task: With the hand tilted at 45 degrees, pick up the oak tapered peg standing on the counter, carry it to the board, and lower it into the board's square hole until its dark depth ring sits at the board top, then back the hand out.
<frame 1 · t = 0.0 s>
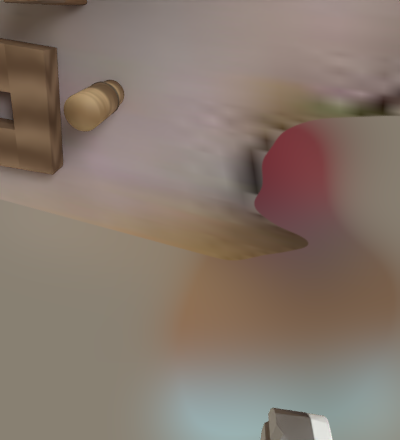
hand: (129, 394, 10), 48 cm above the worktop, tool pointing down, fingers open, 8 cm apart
peg: (111, 93, 53), on the worktop
board: (9, 102, 55), on the worktop
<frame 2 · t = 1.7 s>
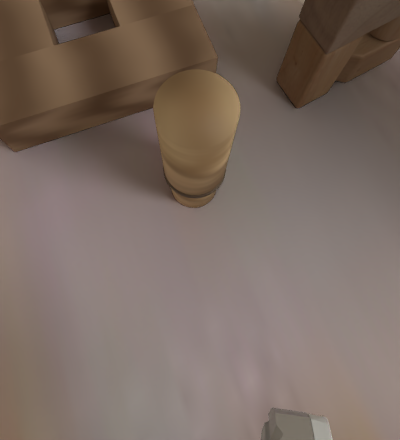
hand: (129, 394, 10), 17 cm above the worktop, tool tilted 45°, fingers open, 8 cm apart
peg: (193, 185, 30), on the worktop
wooden braced stand: (332, 71, 33), on the worktop
board: (90, 44, 33), on the worktop
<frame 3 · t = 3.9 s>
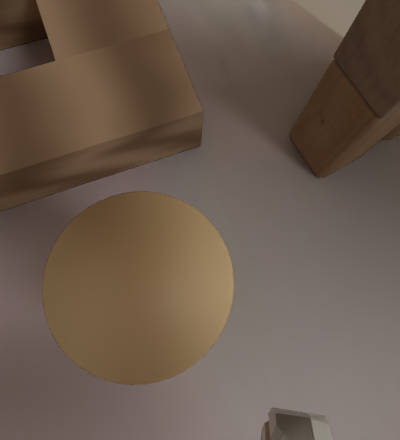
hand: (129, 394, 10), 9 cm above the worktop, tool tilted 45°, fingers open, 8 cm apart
peg: (166, 297, 20), on the worktop
wooden braced stand: (368, 122, 23), on the worktop
board: (24, 80, 23), on the worktop
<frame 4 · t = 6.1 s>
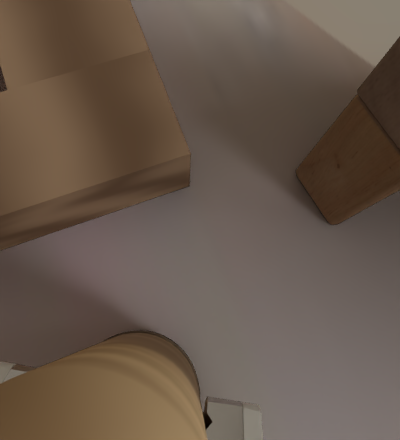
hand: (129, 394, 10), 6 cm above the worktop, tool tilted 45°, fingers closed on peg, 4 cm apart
peg: (147, 377, 16), on the worktop, touching gripper
wooden braced stand: (387, 156, 20), on the worktop
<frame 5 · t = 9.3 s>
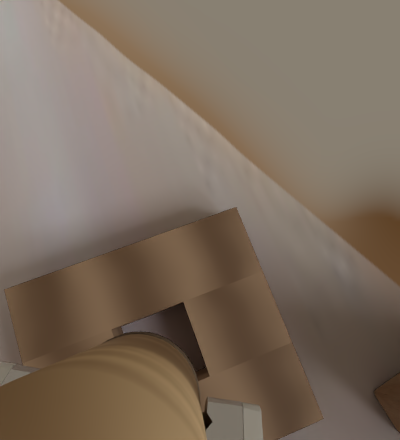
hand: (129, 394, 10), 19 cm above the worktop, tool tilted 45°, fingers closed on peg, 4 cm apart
peg: (147, 378, 16), point 13 cm above the worktop, touching gripper
board: (163, 346, 29), on the worktop
when the fingers open (8 cm above the worktop, at t = 12.7 s): peg drops 1 cm, resting in board.
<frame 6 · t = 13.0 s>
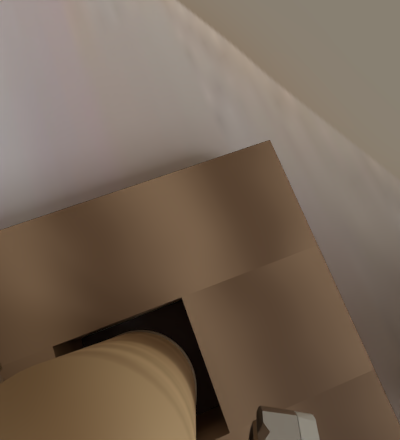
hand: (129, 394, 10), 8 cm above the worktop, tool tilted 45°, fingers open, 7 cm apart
peg: (150, 373, 18), resting in board
board: (149, 371, 18), on the worktop
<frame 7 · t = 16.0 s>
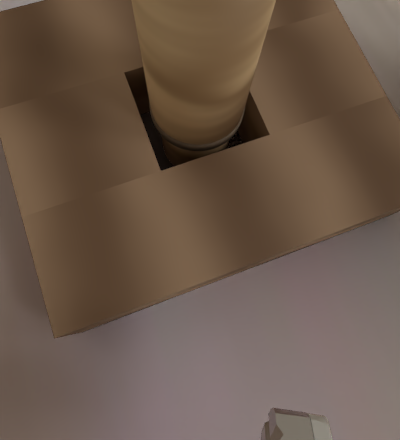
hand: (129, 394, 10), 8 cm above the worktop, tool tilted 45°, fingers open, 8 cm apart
peg: (195, 142, 21), resting in board
board: (193, 141, 21), on the worktop
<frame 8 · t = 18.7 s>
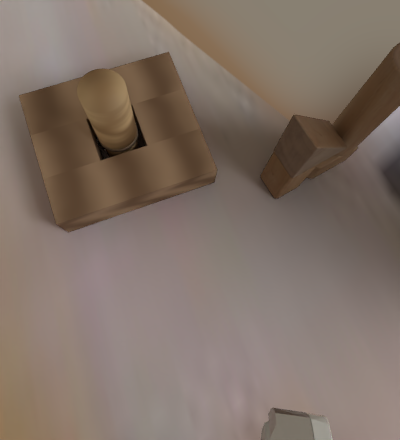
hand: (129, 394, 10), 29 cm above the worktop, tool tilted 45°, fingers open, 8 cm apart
peg: (123, 148, 44), resting in board
wooden braced stand: (302, 168, 44), on the worktop
board: (122, 147, 44), on the worktop
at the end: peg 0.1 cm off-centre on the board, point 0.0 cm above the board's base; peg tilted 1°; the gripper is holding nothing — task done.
